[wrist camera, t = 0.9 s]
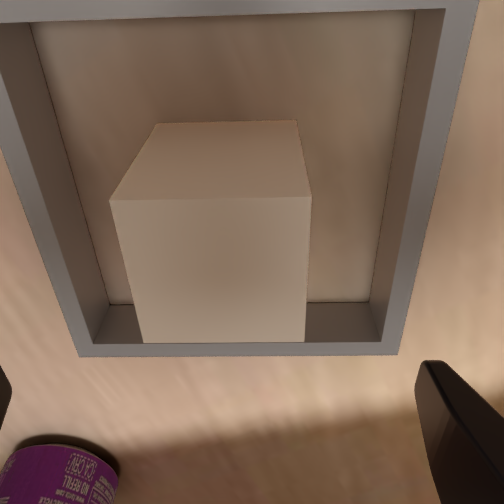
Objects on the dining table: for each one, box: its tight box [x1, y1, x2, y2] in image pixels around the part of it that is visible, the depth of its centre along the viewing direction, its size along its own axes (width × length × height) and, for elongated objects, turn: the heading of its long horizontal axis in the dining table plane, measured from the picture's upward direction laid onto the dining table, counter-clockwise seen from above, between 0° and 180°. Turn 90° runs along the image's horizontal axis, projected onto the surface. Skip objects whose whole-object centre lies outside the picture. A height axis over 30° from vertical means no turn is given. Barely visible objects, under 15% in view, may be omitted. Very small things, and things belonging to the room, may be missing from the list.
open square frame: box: [0, 0, 479, 357], centre depth 16 cm, size 14×14×2 cm
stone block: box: [109, 120, 312, 343], centre depth 14 cm, size 5×5×6 cm
